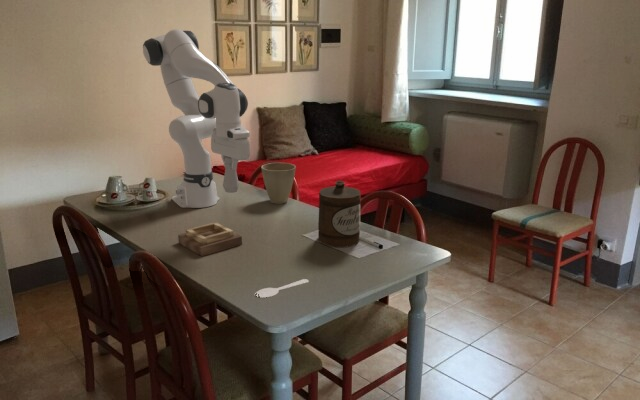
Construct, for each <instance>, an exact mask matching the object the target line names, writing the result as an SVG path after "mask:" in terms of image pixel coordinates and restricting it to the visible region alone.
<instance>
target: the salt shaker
mask: <svg viewBox="0 0 640 400" xmlns="http://www.w3.org/2000/svg"><path fill="white" fill-rule="evenodd" d="M225 163H226V167H225V170H224V176H223V181H222V187H223V189H224V192H225V193H229V194H230V193H233V194H234V193H237V192H238V190H239V187H240V183H239V179H238V174H237V169H236V170H232V169H231V166H230V165H231V164H232V158H231V157H225Z"/></svg>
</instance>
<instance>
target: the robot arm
mask: <svg viewBox="0 0 640 400" xmlns="http://www.w3.org/2000/svg"><path fill="white" fill-rule="evenodd" d="M199 49H200V45H199V41H198V38H197V36H196V35H195V33H194V32H193V31H191V30H182V29H179V28H176V29H171V30H169V31H168V32H166V34H163V35H159V36H156V37H153V38H152V37H151V38H149V39H147V40H145V41H144V42H143V44H142V54H143V56H144V58H145V60H146V61H147V63H148V64H149V65H151V66H154V67H156V66H160V72H161V76H162V79H163V83H164V86H165V89H166V91H167V94H168V96H169V99H170V102H171V104H172V105H173V106H174V107H175V108H177V109H179V110H180V111H181V112H182V113H183V114H184V115H180V116H178V117H176V118H174V119H172V121H170V123H169V125H168V133H169V135H170V137H171V139H172V140H173V141H174V142H176V143H177V144H178V147H180V150H181V152H182V155H183V161H184V172H183V174H182V175H183V181H181V182H180V184H179V185H178V186H177V187H176V189H175V194H176V195H174V196H172V197H171V200H172V201H173V202H174V203H175V204H176V205H178V206H179V208H182V209H183V208H191V209H192V208H193V209H195V208H196V209H197V208H198V209H200V208H201V209H202V208H208V207H213V206H214V205H216V204H217V203H218V201H219V200H221V199H220V196H218V193H217V185H216V182H215V181H214V180H213V179H214V174H213V170H212V156H211V153H210V152H209V151H208V150H207V149H206V148H205V147H204V146H203V142H202V140H205V139H208V138H210V149H211V151H212V153H214V154H217V155H220V156H221V160H222V163H223V167H224V168H226V163H225V157H231V158H232V164H231V165H230V166H231V169H232V170H236V171H237V169H238V163H239V161H247V160H249V158H250V154H251V144H250V140H249V138H250V131H249V130H248V129H247V128H245V127H244V125H242V120H241V118H242V116H244V114H245V113H246V111H247V109H248V107H249V103H248V102H249V101H248V98H247V96H246V95H245V93H244V92H243V91H242V90H241V89H240V88H238V87H237V85H235V84H234V83H233V81H232V80H231V79H230V77H228V75H227V74H226V73H225V72H224V71H223V70H222V69H221V67H220V66H218V65H217V64H216V63H215V62H214V61H212V60H211V59H209V58H208V57H207V56H205V55H204V54H203V53H202V52H201V51H200V50H199ZM192 79H199V80H202V81H203V80H204V81H206V82H209V83H211V84H213V86H214V88H212V89H211V90H209V91H206V92H202V94H200V96H199V94H198V92H197V90H196V87H195V85H194V82H193V80H192Z"/></svg>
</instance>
